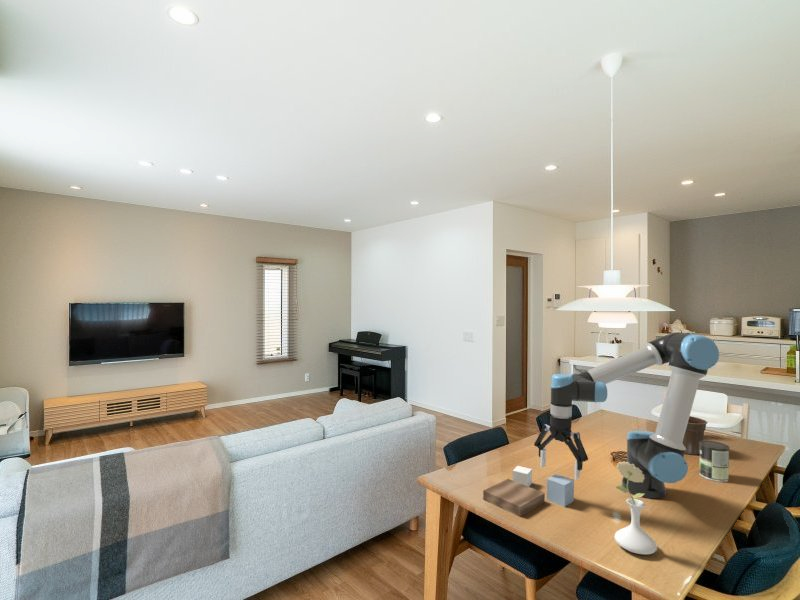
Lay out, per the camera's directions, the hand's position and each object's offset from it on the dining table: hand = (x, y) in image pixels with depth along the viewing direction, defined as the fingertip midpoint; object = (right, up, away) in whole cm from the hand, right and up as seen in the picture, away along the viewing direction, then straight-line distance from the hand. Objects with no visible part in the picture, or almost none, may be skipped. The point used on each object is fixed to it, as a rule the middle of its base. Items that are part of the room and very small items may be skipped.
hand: (559, 472), depth 155 cm
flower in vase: (+12, -11, -29) cm, 33 cm away
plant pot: (+85, -12, +53) cm, 101 cm away
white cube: (-10, -11, +13) cm, 20 cm away
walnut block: (-18, -11, -1) cm, 21 cm away
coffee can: (+75, -12, +22) cm, 79 cm away
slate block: (0, -11, 0) cm, 11 cm away
